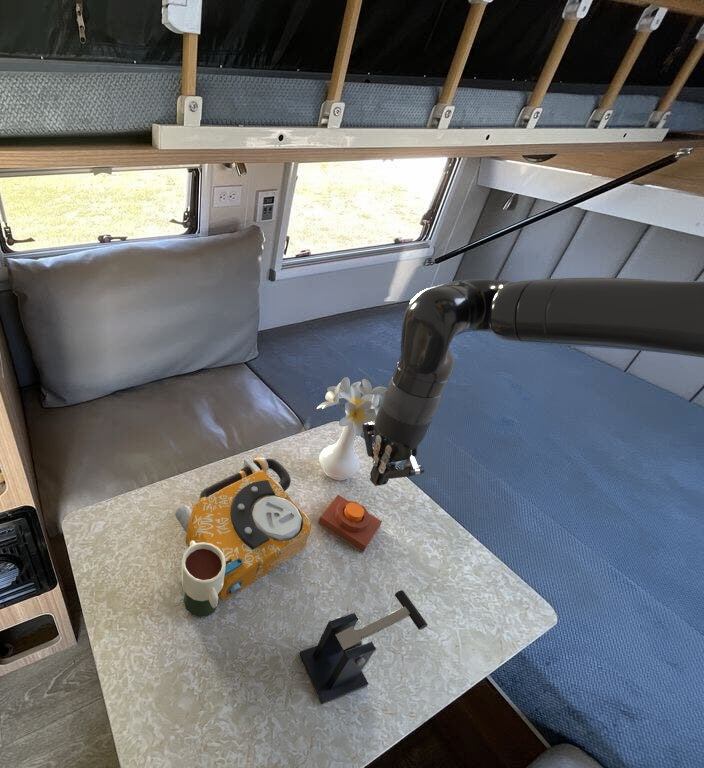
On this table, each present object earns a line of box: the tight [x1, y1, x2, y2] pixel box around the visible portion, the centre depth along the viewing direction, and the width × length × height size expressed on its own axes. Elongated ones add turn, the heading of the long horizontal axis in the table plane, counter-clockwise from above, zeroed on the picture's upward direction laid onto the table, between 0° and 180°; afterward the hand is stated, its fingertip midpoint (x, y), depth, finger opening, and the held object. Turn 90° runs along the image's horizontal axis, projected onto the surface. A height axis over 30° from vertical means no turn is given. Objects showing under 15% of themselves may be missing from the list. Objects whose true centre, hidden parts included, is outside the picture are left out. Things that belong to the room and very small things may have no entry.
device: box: [174, 457, 313, 600], centre depth 82 cm, size 23×8×30 cm
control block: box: [318, 494, 383, 553], centre depth 84 cm, size 10×8×4 cm
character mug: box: [180, 540, 226, 618], centre depth 69 cm, size 11×7×13 cm, turn 21°
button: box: [344, 502, 364, 522], centre depth 83 cm, size 4×4×2 cm
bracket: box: [298, 612, 377, 705], centre depth 60 cm, size 8×7×13 cm
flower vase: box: [316, 376, 387, 482], centre depth 91 cm, size 13×18×25 cm
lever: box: [335, 589, 429, 652], centre depth 58 cm, size 12×5×2 cm, turn 107°
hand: (376, 481), depth 73 cm, fingers closed
